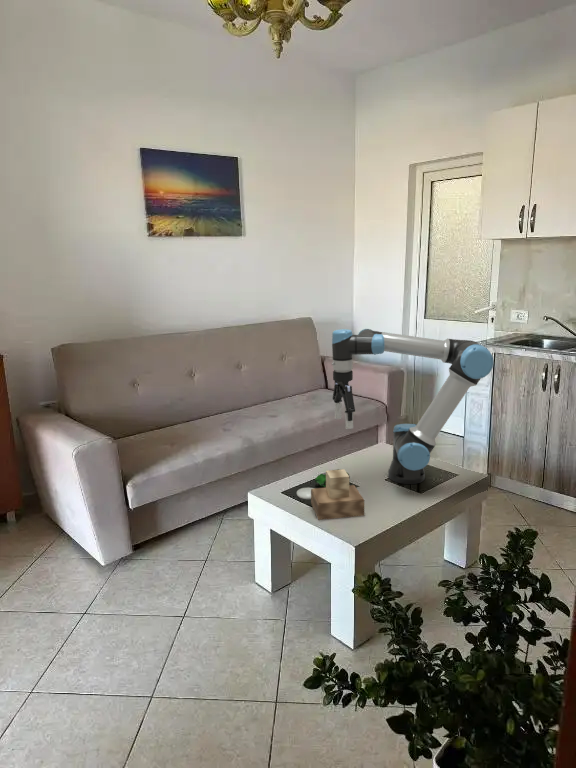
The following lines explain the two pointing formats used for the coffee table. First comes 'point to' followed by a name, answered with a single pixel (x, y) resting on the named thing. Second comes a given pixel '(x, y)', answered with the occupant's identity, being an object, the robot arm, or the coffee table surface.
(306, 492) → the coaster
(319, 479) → the green toy car
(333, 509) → the walnut box
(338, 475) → the oak block
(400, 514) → the coffee table surface
